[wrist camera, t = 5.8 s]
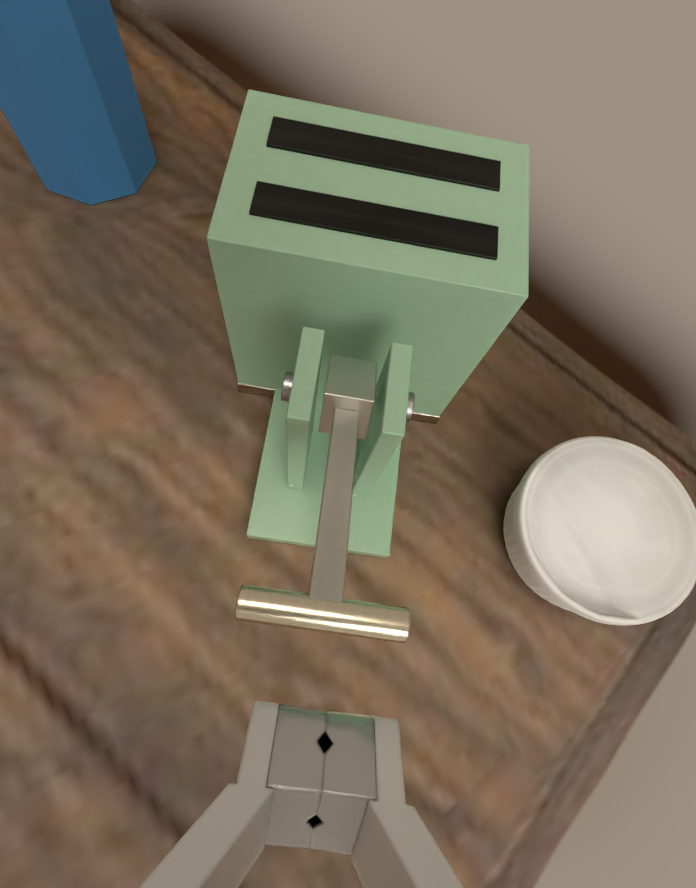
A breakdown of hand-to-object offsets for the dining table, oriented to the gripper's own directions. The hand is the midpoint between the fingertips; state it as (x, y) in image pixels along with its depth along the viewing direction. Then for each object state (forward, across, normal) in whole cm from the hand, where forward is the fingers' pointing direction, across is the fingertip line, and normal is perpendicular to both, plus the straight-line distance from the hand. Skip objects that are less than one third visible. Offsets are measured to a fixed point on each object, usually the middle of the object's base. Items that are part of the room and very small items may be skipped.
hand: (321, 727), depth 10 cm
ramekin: (+22, -17, +8) cm, 28 cm away
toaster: (+29, 0, 0) cm, 29 cm away
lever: (+11, 0, +1) cm, 11 cm away
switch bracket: (+23, 0, +6) cm, 24 cm away
